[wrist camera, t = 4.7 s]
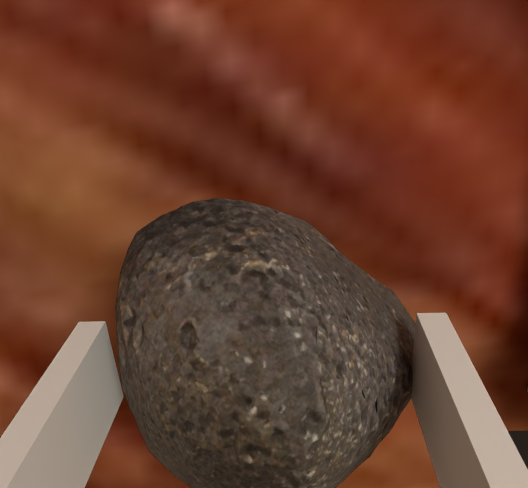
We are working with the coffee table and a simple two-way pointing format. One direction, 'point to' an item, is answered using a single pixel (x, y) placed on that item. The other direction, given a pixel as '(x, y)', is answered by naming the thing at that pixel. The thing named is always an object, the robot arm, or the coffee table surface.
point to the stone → (257, 349)
